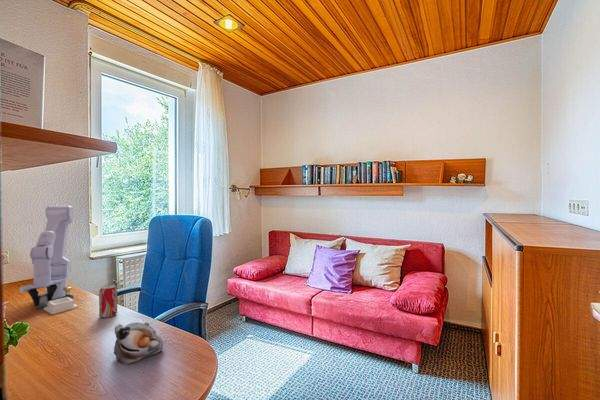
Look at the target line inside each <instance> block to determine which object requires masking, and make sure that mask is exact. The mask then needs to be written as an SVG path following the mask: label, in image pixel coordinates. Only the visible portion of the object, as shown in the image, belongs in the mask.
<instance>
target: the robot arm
mask: <svg viewBox="0 0 600 400" xmlns="http://www.w3.org/2000/svg"><path fill="white" fill-rule="evenodd" d="M44 213H45V214H44V215H45V218H46V220H47V221H46V225H45V229H44V231H42V232H41V233H40V234H39V237H38V239H37V242H36V244H35V246H34V247H32V248H31V249H30V253H29V257H30V259H31V264H32V265H33V267H32V268H33V283H32V284H28V285H22V286H20V287H19V293H25V292H27V293H28V294H29V296H30V297H31V300H32V301H33V305H34V306H33V307H37V306H38V295H39V291H38V289H39V290H40V289H44V288H45V294H49V301H52V300H56V299H60V298H62V296H65V290H63V288H64V287H68V284H67V281H68V280H67V279H68V277H69V276H70V275H71V273H72V266H71V264H72V262H71V260H69V258H67V257H65V256H66V255H65V253H66V246H67V238H68V230H69V225H70V224H72V223H73V220H74V213H75V212H74V208H73V206H72V205H47V207H46V208H45V212H44Z"/></svg>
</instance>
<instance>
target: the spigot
mask: <svg viewBox="0 0 600 400" xmlns="http://www.w3.org/2000/svg"><path fill="white" fill-rule="evenodd" d="M48 301H49V294H46V293H40V294H38V306H36V309H37V310H44V308H45V307H48Z"/></svg>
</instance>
